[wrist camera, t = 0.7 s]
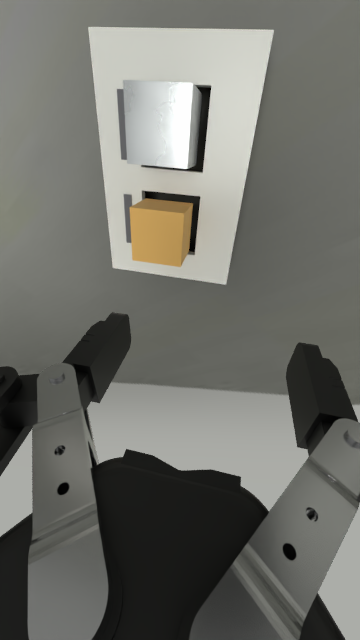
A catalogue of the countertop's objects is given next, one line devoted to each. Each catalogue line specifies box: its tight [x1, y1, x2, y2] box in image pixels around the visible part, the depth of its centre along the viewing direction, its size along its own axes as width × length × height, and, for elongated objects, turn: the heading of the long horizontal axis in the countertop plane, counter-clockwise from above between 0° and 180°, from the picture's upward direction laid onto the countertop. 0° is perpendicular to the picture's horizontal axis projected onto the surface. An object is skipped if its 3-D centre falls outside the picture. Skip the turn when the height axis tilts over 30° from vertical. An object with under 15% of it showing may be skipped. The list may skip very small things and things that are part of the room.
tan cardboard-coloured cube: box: [130, 198, 193, 267], centre depth 24 cm, size 5×5×4 cm
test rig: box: [88, 27, 274, 285], centre depth 27 cm, size 20×14×6 cm
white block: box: [123, 80, 202, 169], centre depth 20 cm, size 5×5×4 cm
